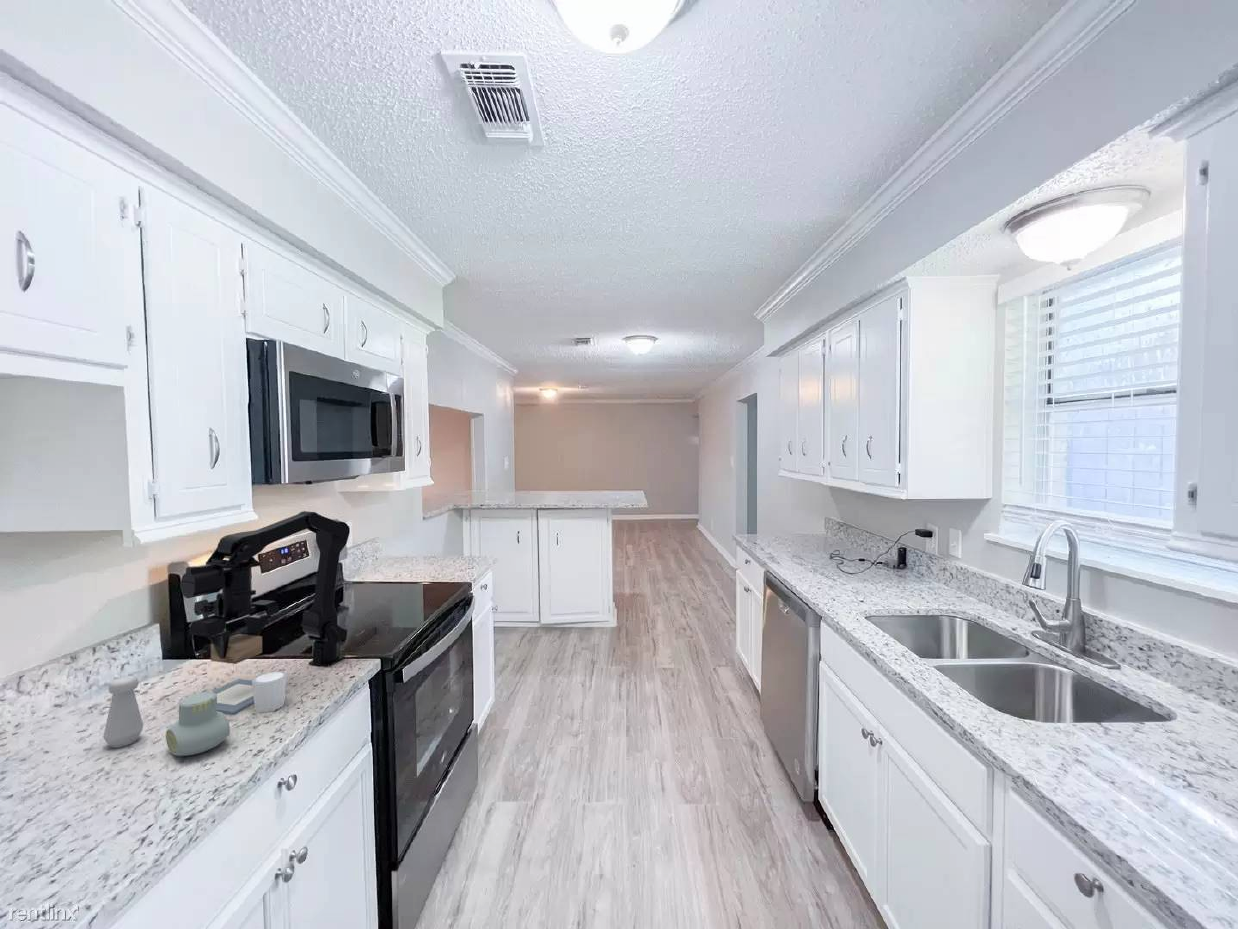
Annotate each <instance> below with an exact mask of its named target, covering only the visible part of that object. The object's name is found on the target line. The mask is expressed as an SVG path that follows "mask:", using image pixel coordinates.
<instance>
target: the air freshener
mask: <svg viewBox="0 0 1238 929" xmlns="http://www.w3.org/2000/svg"><path fill="white" fill-rule="evenodd" d="M230 727H231V726H230V722H229V720H228V718H227V716H226V715H225V713H222V712H217V695H216V694H215V693H213V692H212V691H204V692H203V691H202V692H197V693H194V694H193V693H192V694H191V695H188V696H186V697H184V698H183V699H181V701H179V703H178V721H176V722H175V723H173V724H172V725H171V726H170V727H168V729H167V730H166V732H165V741H166V745H167V748H168V750H169V751H170V753H171V754H172V755H174V756H178V757H179V756H181V757H187V756H193V755H194V756H195V755H197V754H198V755H199V754H203V753H205V752H207V751H210V750H211V749H213V748H215V747H217V746H218V745H220V744H221V743H222V742H224V740H226V739H227V737H228V736H229V735H230V733H231V732H230V731H231V728H230Z"/></svg>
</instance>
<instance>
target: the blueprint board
mask: <svg viewBox="0 0 1238 929" xmlns="http://www.w3.org/2000/svg"><path fill="white" fill-rule="evenodd" d="M211 692H213V693H215V694H216V695H217V712H222V713H223V714H224V715H225V714H227V715H236V714H238V713H239V711H240V712H241V711H244V710H245V709H247V708H250V705H251V706H253V705H254V696H253V687H252V679H243V678H238V679H236V680H234V681H232V682H229V683H227V684H225V685H223V686H221V687H219V688H217V689H214V690H212V691H211Z"/></svg>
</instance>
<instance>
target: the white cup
mask: <svg viewBox="0 0 1238 929" xmlns="http://www.w3.org/2000/svg"><path fill="white" fill-rule="evenodd" d="M287 677H288V673H287V672H286V671H283V670H275V671H268V672H264V673H261V674H259V675H256V676H254V677H253V678H252V679H251V681H252V687H253V696H254V704H253V705H254V711H255V712H256V711H257V712H256V713H260V712H263V713H268V712H269V711H270V712H274V711H277V710H279V709H280V707H281V708H282V707H283V706H284V704H285V698H286V688H287V680H288V678H287ZM276 709H277V710H276ZM270 712H269V713H270Z"/></svg>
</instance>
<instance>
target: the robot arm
mask: <svg viewBox="0 0 1238 929" xmlns="http://www.w3.org/2000/svg"><path fill="white" fill-rule="evenodd" d="M305 530H308V531H309V532H312V533H314V534H315V542H316V545H317V548H318V551H319V559H318V567H317V572H316V573H317V575H316V581H315V587H314V596H313V603H312V605H311V607H310V608H309V609H308V610H304V611H302V621H301V624H300V626H301V627H302V631H303V632H304V633H305V634H306V635H307V637H308V640H309V641H311V640H312V641H314V642H313V648H312V660H310V661H308V665H312V666H322V667H330V666H332V665H334V664H335V663H338V662H339V661H341V660H343V659H345V656H344V655H341V654H340V652H341V650H340V648H341V646H340V645H341V644H340V643H341V641H344V640H345V638H346V634H347V631H346V630H345V629H344V628H342V627H341V626H340V625H338V612H337V610H336V608H335V605H334V604H335V603H334V600H335V593H336V585H337V577H338V571H339V570H338V569H339V563H340V555H341V552H342V551H343V549H344V548H345V546H346V545H347V542H348V540H349V537H350V533H351V529H350V526H349V525H348V524H347V523H346V522H345V521H340V520H334V519H331V518H328V517H325V516H324V515H320V513H317V512H315V511H306V510H304V511H299V513H297V514H295V515H292V516H289V517H287V518H285V519H281V520H280V521H277V522H273V523H272V524H269V525H267V526H264V527H260V528H259V529H254V530H249V531H248V530H247V531H241V532H236V533H231V534H227V535H224V536H223V537H221V538H220V539H219V542H218V544H217V547H216V549H215V550H214V551H213V552H212V554H211V555H210V557H209V558H208V559H207V561H206V562H205V564H204V565H199V566H198V565H197V566H195V565H193V566H187V567H186V569H185V572H184V573H183V575H182V578H181V580H180V581H179V586H180V588H179V589H180V592H181V594H182V595H183V597H184V598H186V599H192V598H196V597H202V596H207V595H210V594H215V593H217V594H216V599H215V600H212V601H209V600H208V599H206V598H205V599H202V600H198V601H196V602H194V606H193V611H194V615H196V616H201V615H202V617H203V618H200V619H197V620H193V621H192V622H191V623H190V624H189V625H188V635H189V636H190V635H192V636H201V637H207V638H208V639H209V640H210V642H211V644H213V645H214V647H215V649H216V651H217V653H218V656H219V658H221V659H224V658H225V656H226V653H227V648H228V643H229V638H230V637H231V634H232V633H231V632H232V631H231V630H228V629H227V625H229V624H232V623H235V622H238V621H241V620H243V621H244V623H245V624H246V635H253V636H261V633H262V631H263V630H264V628H265V627H266V624H267V623H268V621H269V620H270V619H272V617H273V616H272V615H275V614H277V613H279V612H280V607H279V606H280V605H279V603H278V602H277V601H276V600H264V599H260V600H257V601H253V602H252V599H253V598H252V596H255V595H256V594H257V591H256V589H252V588H253V587H252V586H253V585H252V582H253V580H252V577H253V576H252V570H253V569H252V568H256V567H261V566H262V563H261V561H258V560H257V559H256V558H255V556H257V555H258V554H259V553H261V552H262V551H263V550H264V549H265V548H266V547H267V546H269V545H271V544H273V543H275V542H278V541H280V540H283V539H285V538H287V537H290V536H292V535H294V534H295V535H296V534H297V533H300V532H302V531H305ZM220 591H221V592H220ZM211 615H214V616H215V617H212V616H211ZM210 616H211V617H210ZM220 616H221V617H220Z"/></svg>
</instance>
